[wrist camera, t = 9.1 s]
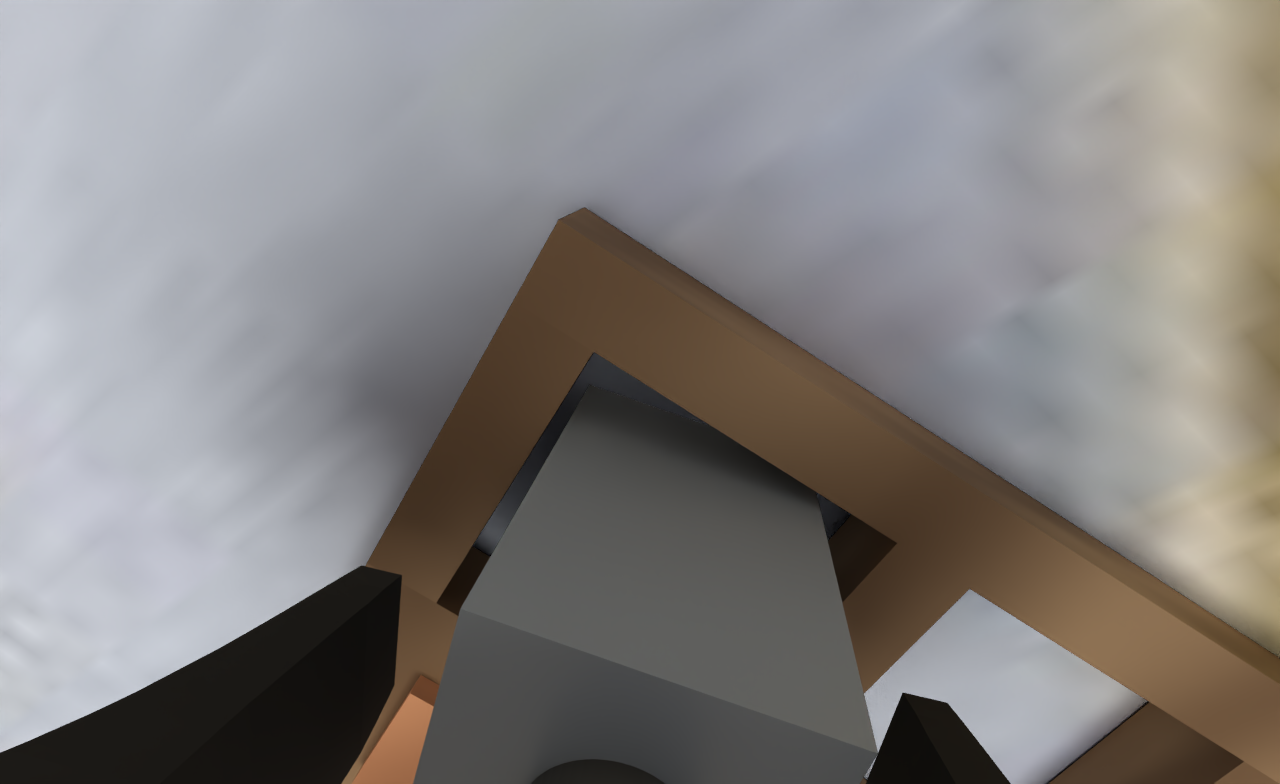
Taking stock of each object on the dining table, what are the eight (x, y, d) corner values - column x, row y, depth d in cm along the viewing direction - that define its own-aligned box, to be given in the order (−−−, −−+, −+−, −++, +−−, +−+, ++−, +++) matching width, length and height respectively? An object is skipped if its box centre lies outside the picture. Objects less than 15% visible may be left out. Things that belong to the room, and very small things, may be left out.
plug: (808, 459, 14) (913, 902, 6) (728, 635, 15) (723, 1170, 7) (590, 384, 14) (395, 722, 6) (532, 567, 15) (318, 1029, 7)
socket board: (1297, 669, 14) (1410, 777, 12) (851, 1005, 19) (868, 1129, 16) (584, 207, 13) (551, 222, 10) (304, 699, 17) (238, 786, 15)
